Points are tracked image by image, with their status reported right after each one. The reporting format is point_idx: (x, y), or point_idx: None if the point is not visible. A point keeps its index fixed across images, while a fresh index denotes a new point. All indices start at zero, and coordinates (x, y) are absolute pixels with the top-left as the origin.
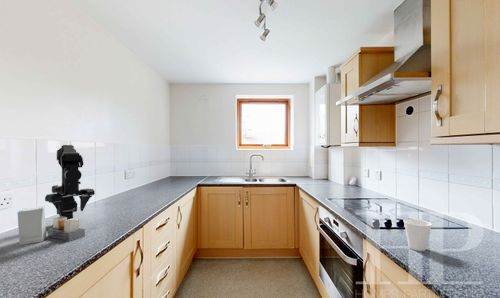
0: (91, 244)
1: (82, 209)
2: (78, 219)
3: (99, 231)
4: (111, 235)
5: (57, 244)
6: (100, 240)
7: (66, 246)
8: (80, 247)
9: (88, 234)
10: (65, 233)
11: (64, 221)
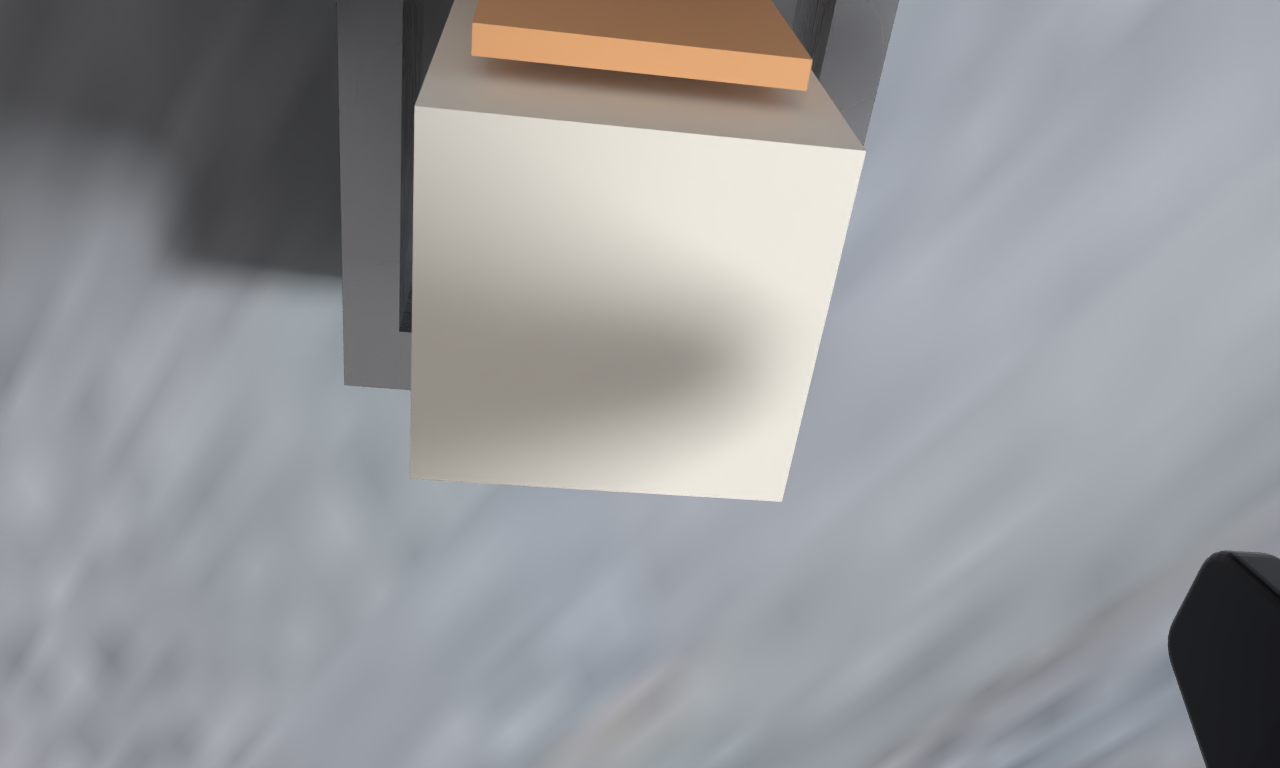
0: (457, 753)
1: (1205, 741)
2: (768, 499)
3: (1135, 341)
4: (919, 715)
5: (131, 206)
6: (653, 738)
7: (180, 486)
8: (285, 716)
9: (896, 280)
10: (342, 228)
11: (418, 108)
